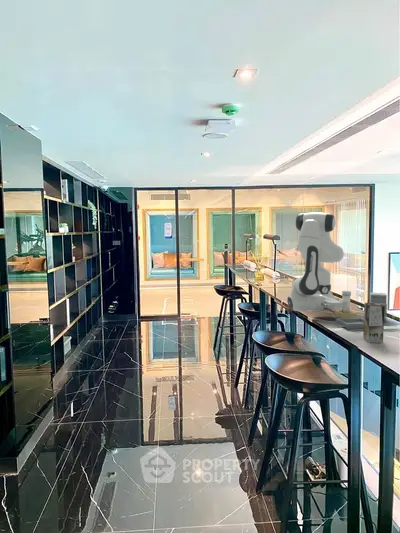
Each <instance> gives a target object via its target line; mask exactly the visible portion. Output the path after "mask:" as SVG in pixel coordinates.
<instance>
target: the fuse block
mask: <svg viewBox="0 0 400 533" xmlns="http://www.w3.org/2000/svg"><path fill="white" fill-rule="evenodd" d="M334 310H335V312H334V314H330V316H331V317H332V318H335V319H338V318H359V317H357V316H358V315H357V314H358V313H357V312H355V311H353V310H350V313H342V309H334Z"/></svg>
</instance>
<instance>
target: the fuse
mask: <svg viewBox="0 0 400 533" xmlns="http://www.w3.org/2000/svg"><path fill="white" fill-rule="evenodd" d="M341 295H342V298H341V299H342V301H341V302H348V305H344V306H343V308H342V309H341V310H342V313H350V311H351V296H352V291H350V290H342V291H341Z"/></svg>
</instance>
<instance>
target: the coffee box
mask: <svg viewBox="0 0 400 533" xmlns="http://www.w3.org/2000/svg"><path fill="white" fill-rule="evenodd" d="M363 310H364V313H363V319H364V330H363V338H364V339H365V340H366V341H367V342H368V343H379V344H383V343H384V332H385V331H384V330H385V327H384V326H385V321H384V312H385V306H384V305H382V304H380V303H370V302H364V309H363Z"/></svg>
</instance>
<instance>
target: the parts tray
mask: <svg viewBox="0 0 400 533" xmlns="http://www.w3.org/2000/svg"><path fill="white" fill-rule="evenodd" d="M335 322H336V323H338V324H340V325H342V326H341V328H343V329H344V330H346V331H357V330H358V331H359V330H360V331H362V330H363V331H364V317H358V318H338V319H337V318H335ZM348 322H349V323H348ZM351 322H352V323H351Z"/></svg>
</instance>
